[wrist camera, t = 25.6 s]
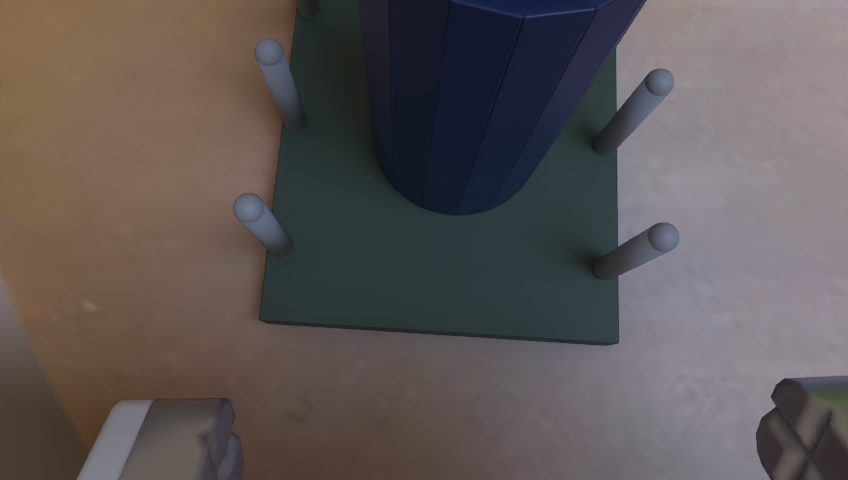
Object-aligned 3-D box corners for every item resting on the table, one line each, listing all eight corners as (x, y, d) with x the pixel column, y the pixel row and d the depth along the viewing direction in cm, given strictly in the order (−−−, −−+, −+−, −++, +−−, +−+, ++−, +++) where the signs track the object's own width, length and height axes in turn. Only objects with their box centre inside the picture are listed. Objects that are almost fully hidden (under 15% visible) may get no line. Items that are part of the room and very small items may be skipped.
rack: (607, 345, 22) (691, 331, 16) (265, 323, 21) (212, 299, 15) (605, -5, 25) (675, -134, 19) (307, -29, 25) (277, -169, 18)
